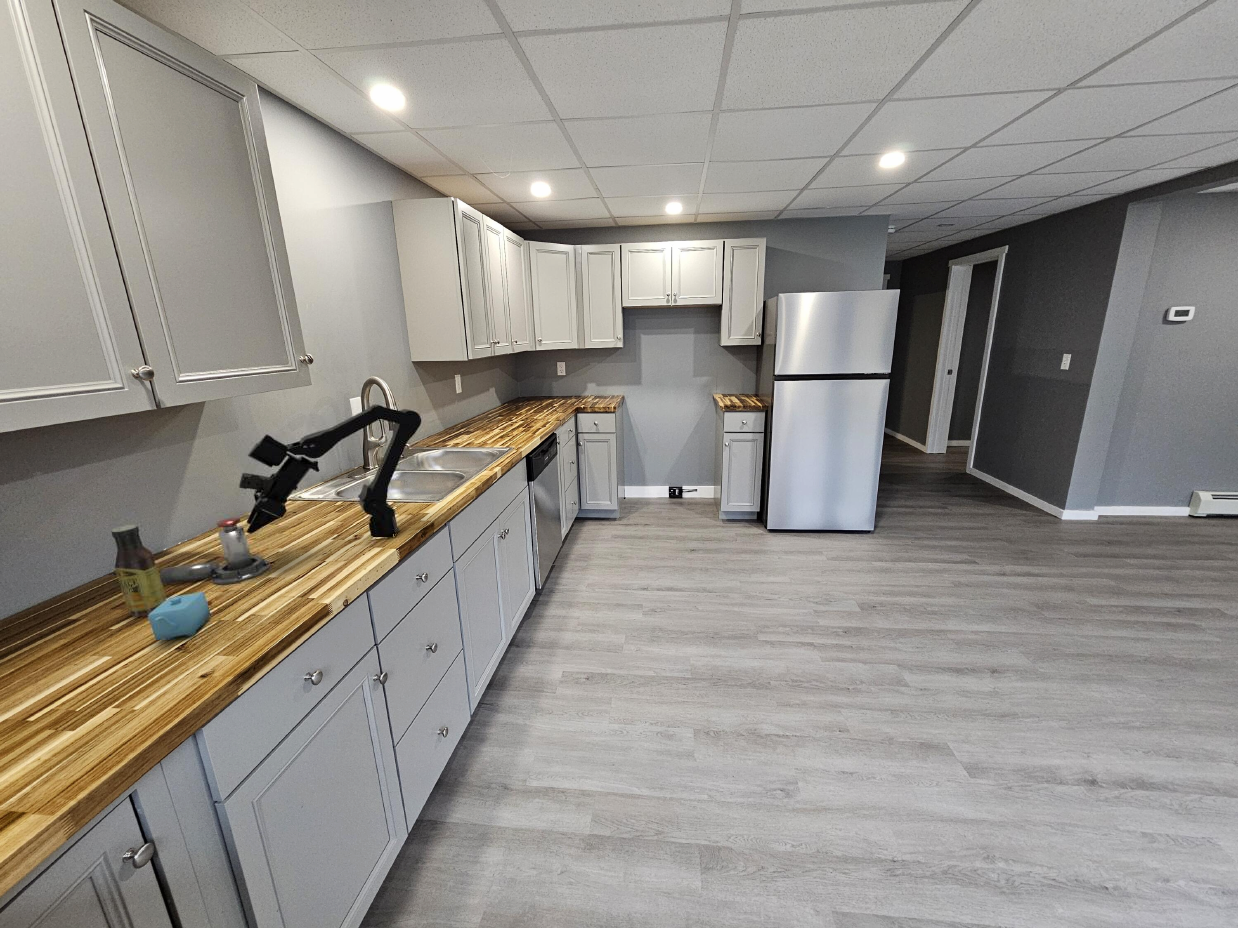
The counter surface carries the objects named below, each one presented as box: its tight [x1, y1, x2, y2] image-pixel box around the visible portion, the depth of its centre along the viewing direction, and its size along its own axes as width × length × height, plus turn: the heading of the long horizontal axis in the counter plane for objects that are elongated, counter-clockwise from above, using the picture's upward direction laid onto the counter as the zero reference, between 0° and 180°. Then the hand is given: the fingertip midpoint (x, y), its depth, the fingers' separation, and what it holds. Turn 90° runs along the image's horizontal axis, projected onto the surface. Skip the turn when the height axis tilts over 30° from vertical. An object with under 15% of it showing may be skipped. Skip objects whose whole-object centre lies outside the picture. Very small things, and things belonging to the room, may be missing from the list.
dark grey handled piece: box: [159, 555, 272, 586], centre depth 123 cm, size 23×12×4 cm, turn 101°
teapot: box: [147, 591, 212, 641], centre depth 97 cm, size 12×6×8 cm, turn 16°
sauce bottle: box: [111, 524, 167, 618], centre depth 105 cm, size 7×6×20 cm
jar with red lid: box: [216, 517, 253, 571], centre depth 122 cm, size 5×5×14 cm
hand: (248, 528), depth 123 cm, fingers open, 9 cm apart
